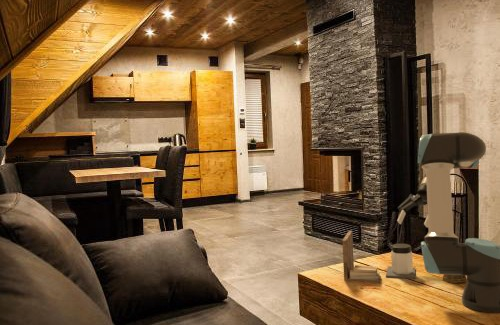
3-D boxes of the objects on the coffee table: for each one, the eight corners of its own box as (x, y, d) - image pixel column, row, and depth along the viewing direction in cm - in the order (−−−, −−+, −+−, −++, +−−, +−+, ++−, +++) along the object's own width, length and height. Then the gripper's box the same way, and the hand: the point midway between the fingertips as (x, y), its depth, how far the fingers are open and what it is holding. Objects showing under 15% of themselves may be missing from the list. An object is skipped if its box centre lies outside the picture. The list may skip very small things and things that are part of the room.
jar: (399, 267, 200) (398, 242, 199) (415, 271, 193) (414, 244, 193) (388, 272, 194) (387, 246, 193) (405, 276, 188) (404, 249, 187)
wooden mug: (461, 288, 172) (459, 244, 171) (438, 278, 185) (436, 237, 184) (479, 285, 174) (478, 241, 173) (455, 275, 187) (454, 235, 186)
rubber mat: (414, 279, 186) (414, 277, 186) (385, 277, 190) (385, 275, 190) (415, 269, 199) (415, 267, 199) (388, 267, 203) (387, 266, 203)
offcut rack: (379, 283, 183) (377, 241, 182) (344, 280, 188) (342, 240, 187) (383, 269, 201) (381, 231, 200) (350, 267, 206) (349, 230, 206)
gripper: (456, 195, 200) (441, 232, 192) (407, 192, 220) (392, 225, 211) (450, 184, 197) (434, 222, 188) (401, 182, 217) (385, 216, 208)
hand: (412, 224), depth 200 cm, fingers open, 13 cm apart
